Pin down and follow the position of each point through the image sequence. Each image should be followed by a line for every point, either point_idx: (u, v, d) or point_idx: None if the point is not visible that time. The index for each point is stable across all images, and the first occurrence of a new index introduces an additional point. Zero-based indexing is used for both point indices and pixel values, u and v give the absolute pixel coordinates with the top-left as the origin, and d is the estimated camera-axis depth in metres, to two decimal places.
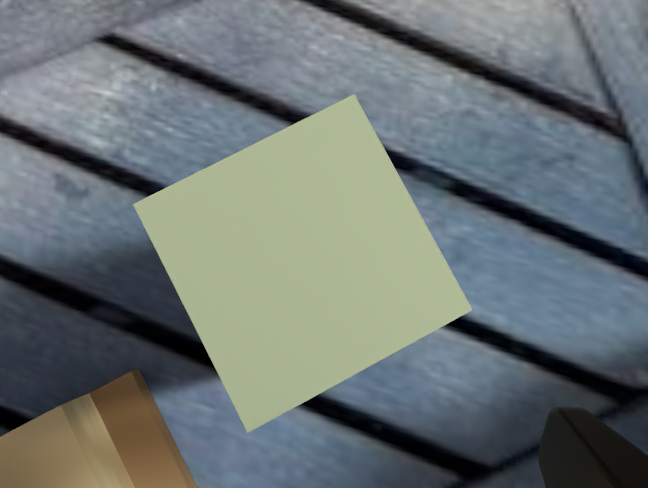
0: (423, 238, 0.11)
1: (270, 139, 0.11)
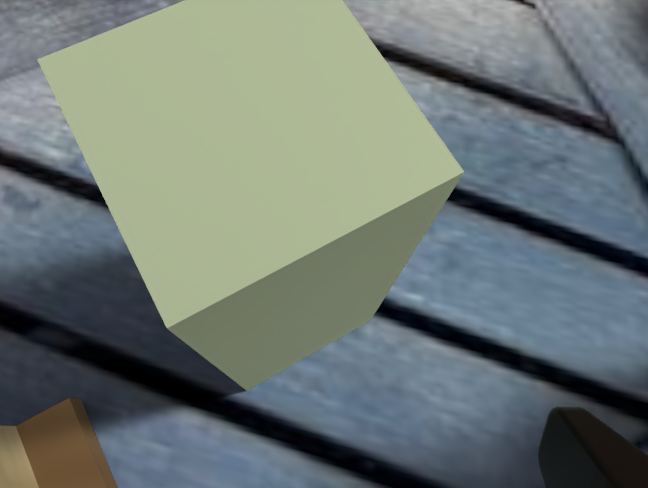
0: (395, 93, 0.09)
1: None
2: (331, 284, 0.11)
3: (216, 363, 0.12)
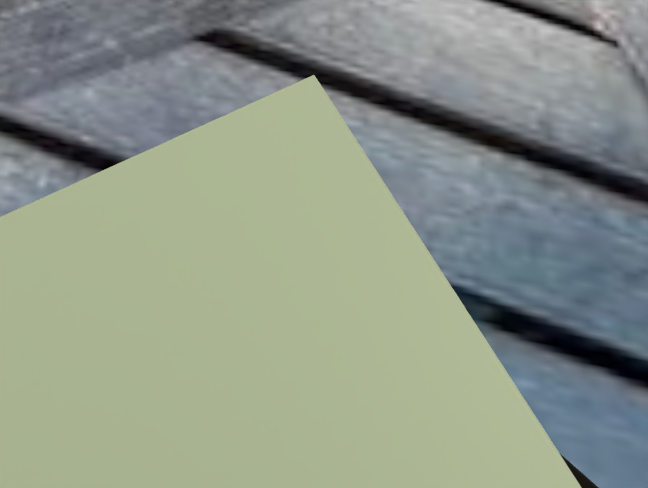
0: None
1: None
2: None
3: None
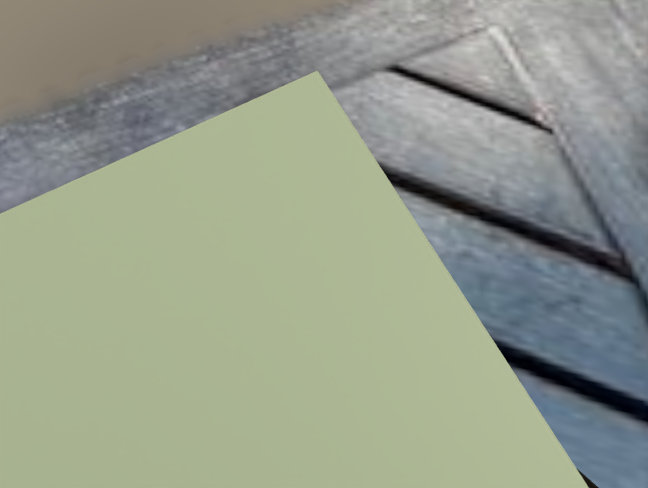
0: None
1: (2, 227, 0.03)
2: None
3: None
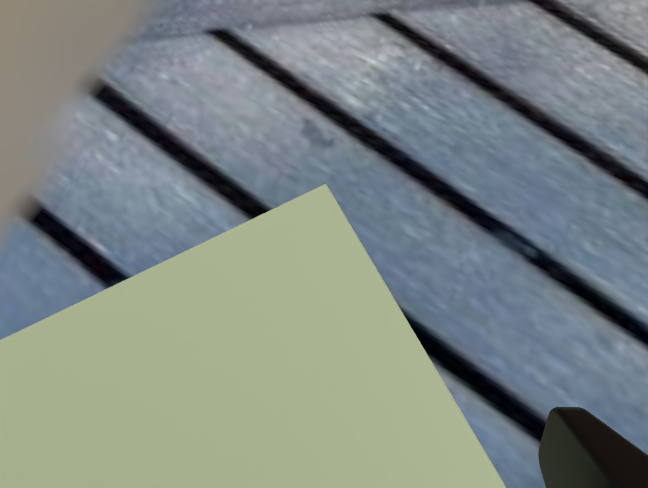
0: None
1: (105, 300, 0.04)
2: None
3: None
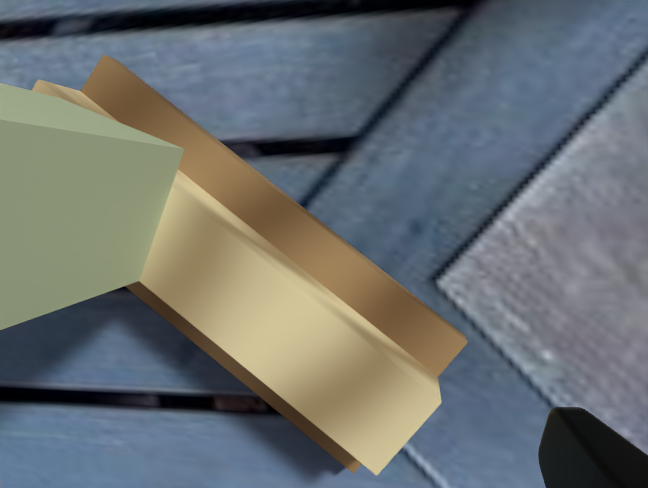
0: None
1: None
2: None
3: None
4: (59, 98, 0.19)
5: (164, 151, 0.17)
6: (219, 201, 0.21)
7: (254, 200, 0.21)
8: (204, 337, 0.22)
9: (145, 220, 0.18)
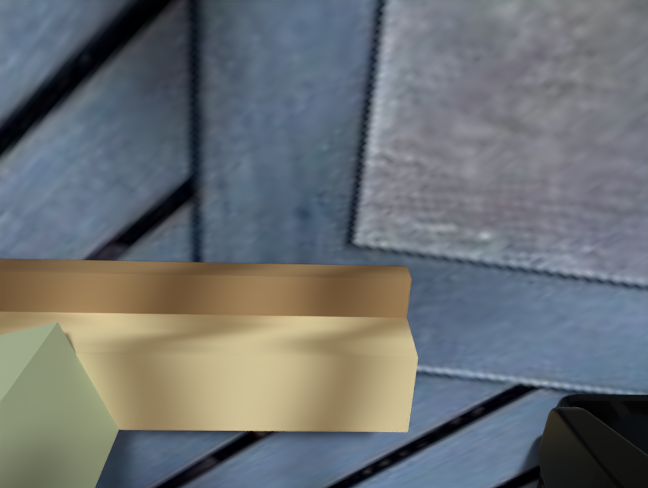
0: None
1: None
2: None
3: None
4: None
5: (41, 353, 0.17)
6: (127, 312, 0.21)
7: (153, 293, 0.21)
8: None
9: (79, 403, 0.18)
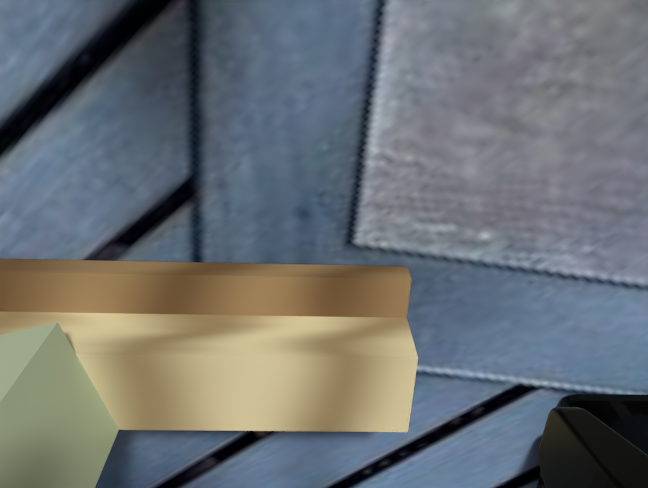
0: None
1: None
2: None
3: None
4: None
5: (41, 353, 0.17)
6: (127, 312, 0.21)
7: (153, 293, 0.21)
8: None
9: (79, 403, 0.18)
